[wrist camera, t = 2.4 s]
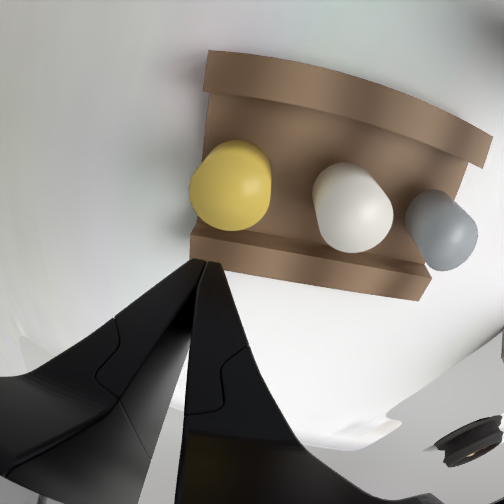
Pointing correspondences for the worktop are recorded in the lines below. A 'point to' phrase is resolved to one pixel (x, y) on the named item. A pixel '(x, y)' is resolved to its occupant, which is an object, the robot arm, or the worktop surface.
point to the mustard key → (232, 186)
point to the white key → (351, 208)
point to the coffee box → (502, 347)
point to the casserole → (471, 441)
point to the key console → (322, 156)
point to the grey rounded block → (440, 230)
